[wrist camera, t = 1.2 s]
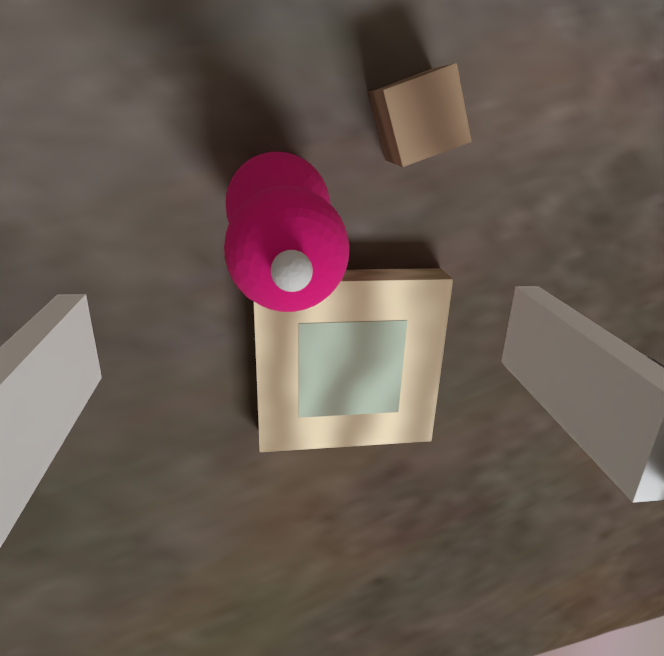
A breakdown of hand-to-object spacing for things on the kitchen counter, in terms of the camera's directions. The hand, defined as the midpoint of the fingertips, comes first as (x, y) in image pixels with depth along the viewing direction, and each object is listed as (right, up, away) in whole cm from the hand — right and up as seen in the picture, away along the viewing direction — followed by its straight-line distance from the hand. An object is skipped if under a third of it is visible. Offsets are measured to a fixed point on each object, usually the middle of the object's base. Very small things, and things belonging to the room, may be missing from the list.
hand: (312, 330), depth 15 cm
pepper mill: (-4, +10, +23) cm, 26 cm away
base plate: (+2, -2, +29) cm, 29 cm away
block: (+6, +16, +22) cm, 28 cm away
